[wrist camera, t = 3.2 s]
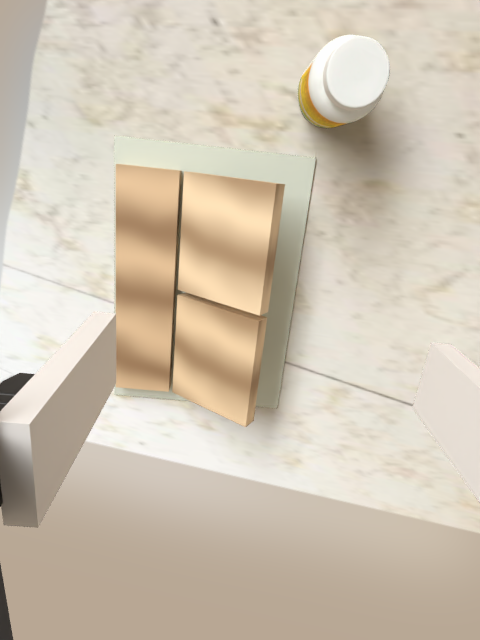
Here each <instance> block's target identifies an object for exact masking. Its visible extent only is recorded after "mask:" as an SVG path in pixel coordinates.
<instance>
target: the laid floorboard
mask: <svg viewBox="0 0 480 640" xmlns="http://www.w3.org/2000/svg"><path fill="white" fill-rule="evenodd" d="M181 174H182V171H181V170H172V169H163V168H153V167H144V166H135V165H126V164H116V387H119V388H131V389H142V390H154V391H166V392H169V389H170V386H171V370H172V350H173V331H174V311H175V292H176V272H177V252H178V233H179V213H180V194H181Z"/></svg>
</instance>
